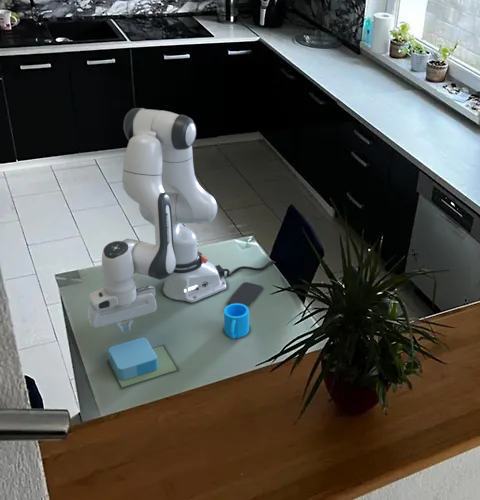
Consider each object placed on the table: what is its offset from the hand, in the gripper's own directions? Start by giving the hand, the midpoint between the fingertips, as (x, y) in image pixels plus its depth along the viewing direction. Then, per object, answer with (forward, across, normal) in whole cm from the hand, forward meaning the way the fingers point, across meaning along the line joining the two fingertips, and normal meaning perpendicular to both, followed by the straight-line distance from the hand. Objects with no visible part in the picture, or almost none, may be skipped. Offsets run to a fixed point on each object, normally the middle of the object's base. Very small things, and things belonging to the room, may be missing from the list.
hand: (125, 329), depth 215 cm
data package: (+7, 0, 0) cm, 7 cm away
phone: (+9, -46, -12) cm, 48 cm away
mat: (+9, -2, +8) cm, 13 cm away
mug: (+9, -34, +6) cm, 36 cm away
